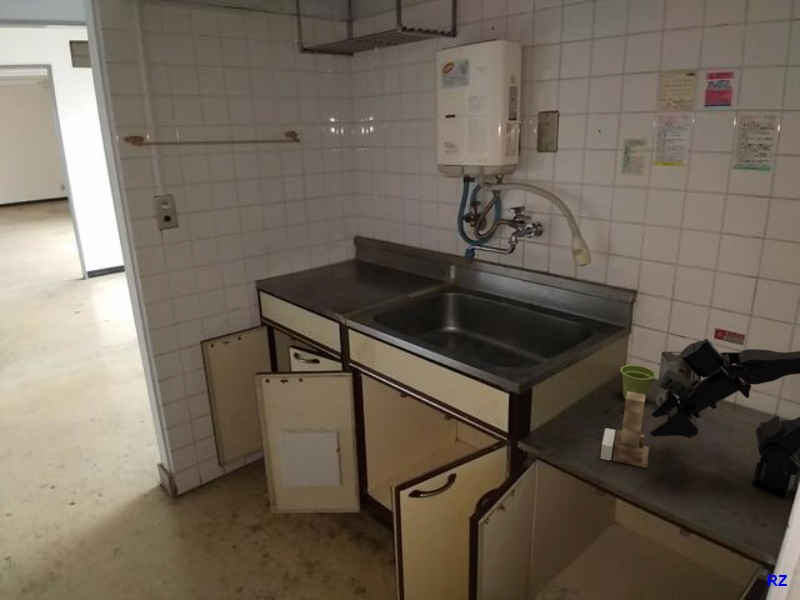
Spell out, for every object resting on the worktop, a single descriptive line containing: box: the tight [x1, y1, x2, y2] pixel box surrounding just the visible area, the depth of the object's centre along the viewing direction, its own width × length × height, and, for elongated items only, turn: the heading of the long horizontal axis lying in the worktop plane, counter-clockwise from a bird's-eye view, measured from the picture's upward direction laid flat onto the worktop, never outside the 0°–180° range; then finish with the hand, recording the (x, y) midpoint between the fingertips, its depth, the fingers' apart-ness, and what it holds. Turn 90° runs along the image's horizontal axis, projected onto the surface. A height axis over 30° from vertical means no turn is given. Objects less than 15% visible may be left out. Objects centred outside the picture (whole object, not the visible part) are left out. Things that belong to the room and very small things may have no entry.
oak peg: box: [621, 391, 646, 448], centre depth 133 cm, size 4×4×15 cm
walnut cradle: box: [612, 429, 650, 469], centre depth 134 cm, size 8×8×4 cm
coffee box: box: [655, 351, 702, 407], centre depth 154 cm, size 9×6×16 cm
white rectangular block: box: [600, 427, 616, 461], centre depth 137 cm, size 2×8×4 cm, turn 155°
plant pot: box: [620, 364, 657, 402], centre depth 161 cm, size 9×9×9 cm
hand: (652, 424), depth 131 cm, fingers open, 9 cm apart
